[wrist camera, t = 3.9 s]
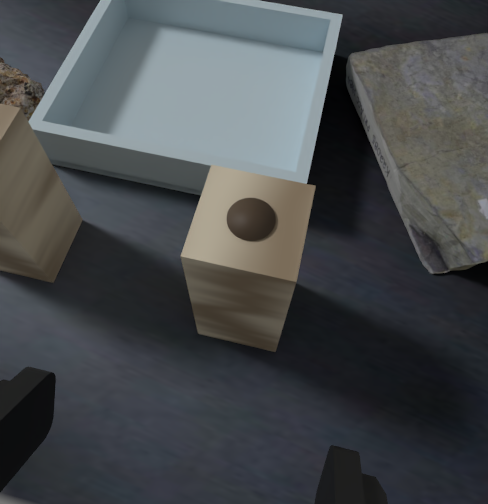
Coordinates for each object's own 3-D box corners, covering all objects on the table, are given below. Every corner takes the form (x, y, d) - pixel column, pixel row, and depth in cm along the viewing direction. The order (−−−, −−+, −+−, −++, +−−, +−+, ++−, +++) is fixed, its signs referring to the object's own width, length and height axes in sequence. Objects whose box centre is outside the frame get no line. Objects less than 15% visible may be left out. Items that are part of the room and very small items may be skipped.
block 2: (198, 333, 27) (180, 255, 18) (218, 264, 29) (211, 163, 20) (275, 352, 27) (296, 280, 18) (290, 280, 29) (316, 184, 20)
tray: (44, 162, 32) (24, 127, 29) (124, 16, 40) (114, -25, 37) (299, 216, 31) (306, 185, 28) (333, 53, 38) (342, 14, 35)
